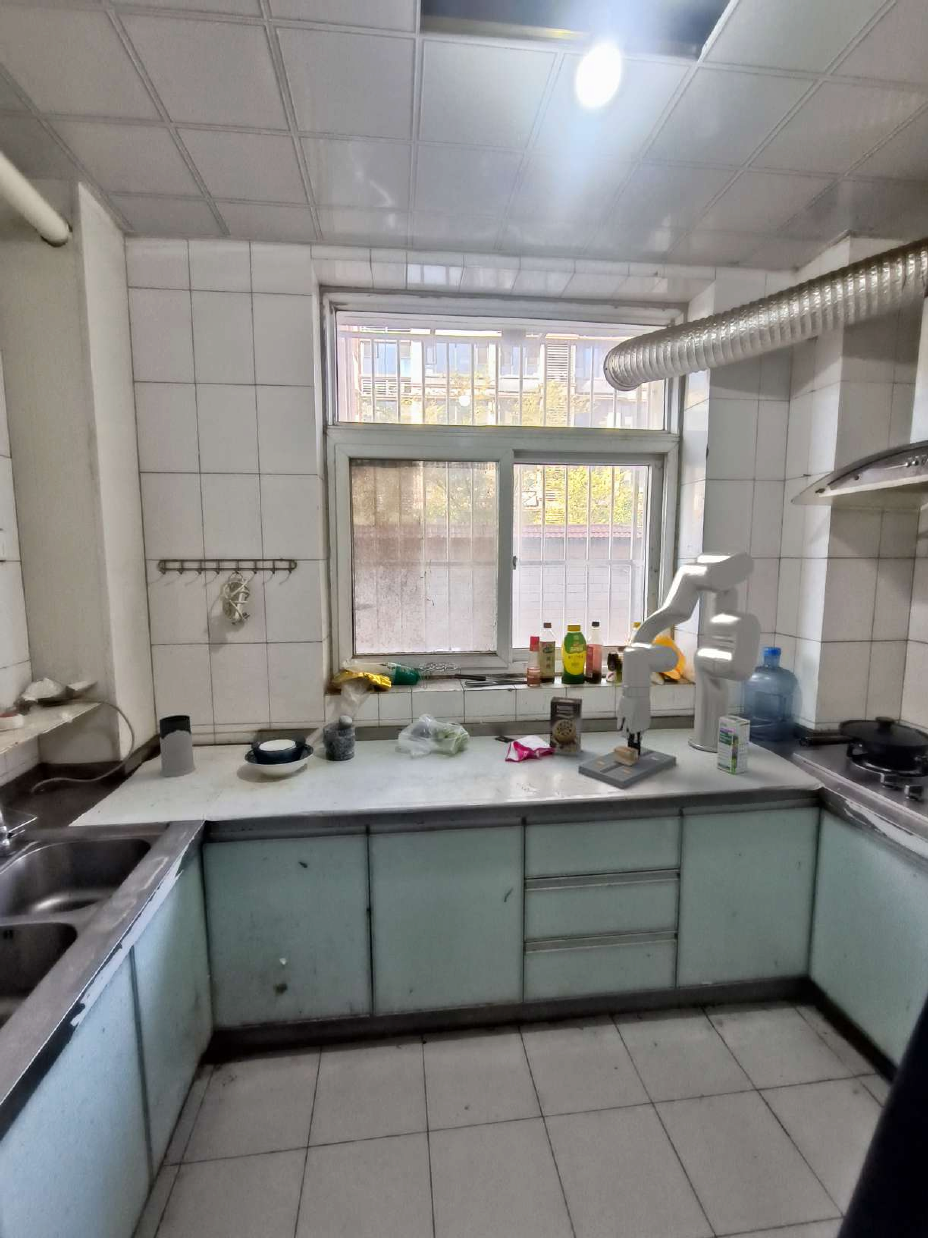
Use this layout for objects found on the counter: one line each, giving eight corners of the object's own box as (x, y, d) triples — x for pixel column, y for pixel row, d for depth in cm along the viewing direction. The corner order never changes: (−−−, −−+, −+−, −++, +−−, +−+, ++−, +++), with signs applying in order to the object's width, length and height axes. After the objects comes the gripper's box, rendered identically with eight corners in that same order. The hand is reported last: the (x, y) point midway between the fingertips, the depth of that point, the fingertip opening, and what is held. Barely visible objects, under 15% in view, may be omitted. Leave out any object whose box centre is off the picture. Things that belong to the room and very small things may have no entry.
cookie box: (548, 753, 162) (549, 701, 160) (551, 746, 168) (552, 695, 166) (579, 756, 159) (580, 703, 158) (581, 749, 165) (582, 697, 164)
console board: (632, 750, 164) (633, 743, 164) (676, 763, 153) (676, 756, 153) (578, 772, 147) (578, 765, 147) (622, 789, 137) (622, 781, 136)
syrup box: (715, 767, 150) (718, 717, 148) (729, 764, 153) (732, 714, 151) (734, 775, 145) (736, 722, 143) (748, 771, 148) (751, 719, 146)
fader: (621, 757, 152) (622, 745, 152) (637, 762, 148) (637, 750, 148) (613, 760, 150) (613, 748, 149) (629, 765, 146) (629, 753, 146)
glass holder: (162, 779, 145) (158, 725, 143) (155, 764, 156) (152, 713, 154) (198, 772, 150) (195, 719, 148) (189, 757, 161) (185, 708, 160)
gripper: (639, 684, 157) (637, 745, 159) (608, 692, 148) (606, 757, 150) (662, 689, 151) (660, 752, 153) (632, 698, 142) (630, 765, 144)
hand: (633, 754), depth 152 cm, fingers closed
